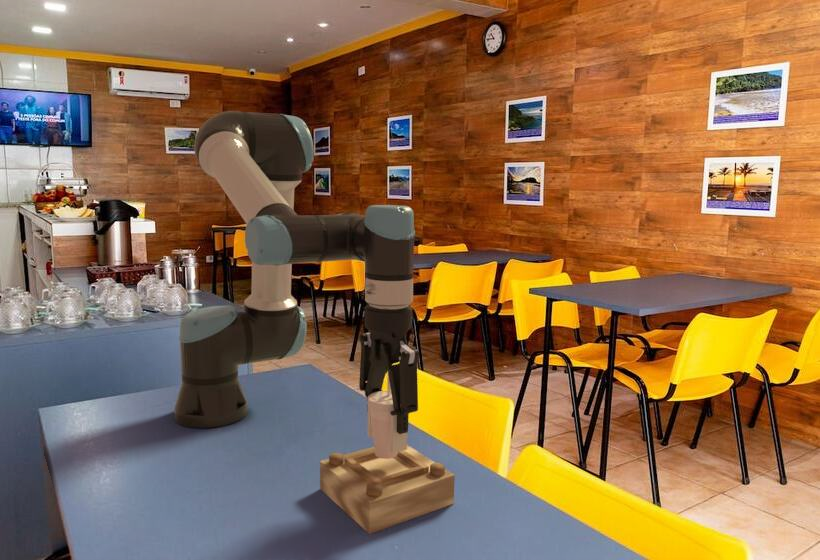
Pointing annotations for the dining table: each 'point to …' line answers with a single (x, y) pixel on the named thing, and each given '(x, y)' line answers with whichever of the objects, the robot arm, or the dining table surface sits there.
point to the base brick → (386, 486)
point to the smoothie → (381, 421)
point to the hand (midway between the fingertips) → (386, 442)
